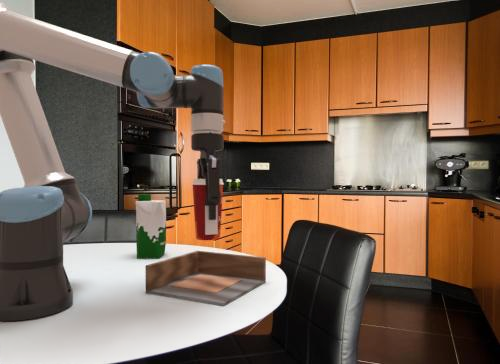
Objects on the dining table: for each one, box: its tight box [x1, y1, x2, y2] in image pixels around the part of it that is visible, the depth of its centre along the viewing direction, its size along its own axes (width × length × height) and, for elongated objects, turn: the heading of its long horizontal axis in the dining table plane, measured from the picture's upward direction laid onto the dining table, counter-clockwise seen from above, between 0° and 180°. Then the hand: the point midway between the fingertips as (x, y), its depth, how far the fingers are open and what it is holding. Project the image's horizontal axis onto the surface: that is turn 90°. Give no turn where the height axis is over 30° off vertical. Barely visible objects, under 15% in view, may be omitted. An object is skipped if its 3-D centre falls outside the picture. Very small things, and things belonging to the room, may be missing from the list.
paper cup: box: [190, 178, 225, 241], centre depth 92 cm, size 8×8×14 cm
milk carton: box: [135, 193, 167, 259], centre depth 127 cm, size 9×9×20 cm
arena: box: [145, 250, 267, 307], centre depth 92 cm, size 20×20×6 cm
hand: (207, 231), depth 92 cm, fingers closed on paper cup, 7 cm apart
